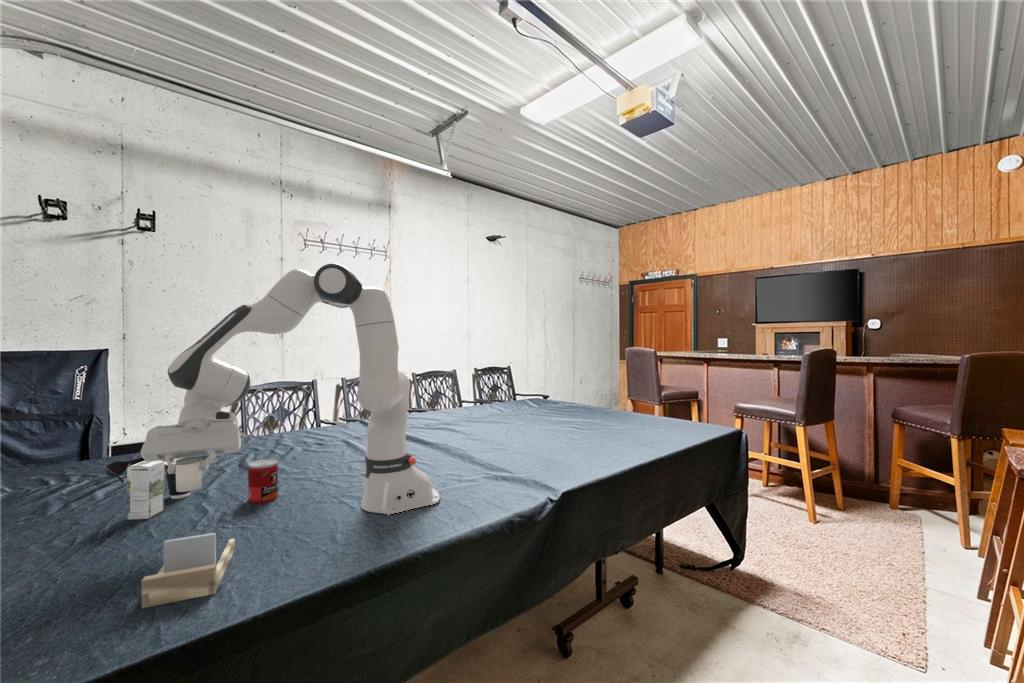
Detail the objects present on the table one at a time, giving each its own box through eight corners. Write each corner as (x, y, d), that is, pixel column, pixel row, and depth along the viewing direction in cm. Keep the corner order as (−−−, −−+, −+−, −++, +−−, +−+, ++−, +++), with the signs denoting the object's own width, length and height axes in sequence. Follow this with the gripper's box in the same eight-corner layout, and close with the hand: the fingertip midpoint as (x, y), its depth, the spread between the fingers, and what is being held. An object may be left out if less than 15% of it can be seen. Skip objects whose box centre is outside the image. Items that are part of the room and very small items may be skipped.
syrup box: (142, 511, 119) (142, 460, 119) (165, 510, 120) (164, 459, 120) (126, 520, 114) (125, 466, 114) (149, 519, 114) (149, 465, 114)
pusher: (165, 580, 84) (165, 540, 84) (216, 571, 87) (215, 532, 87) (163, 583, 83) (163, 542, 83) (215, 573, 86) (214, 534, 86)
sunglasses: (152, 468, 161) (152, 454, 161) (165, 475, 151) (165, 461, 151) (103, 477, 150) (103, 463, 150) (114, 486, 140) (114, 471, 140)
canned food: (265, 504, 124) (264, 467, 124) (241, 502, 126) (241, 465, 126) (284, 495, 132) (283, 459, 132) (261, 493, 133) (261, 458, 133)
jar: (204, 483, 106) (203, 455, 106) (198, 489, 102) (197, 461, 102) (179, 486, 105) (179, 458, 104) (172, 493, 100) (172, 463, 100)
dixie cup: (176, 502, 126) (175, 465, 126) (157, 499, 129) (157, 463, 129) (202, 492, 134) (202, 458, 134) (184, 490, 136) (184, 456, 136)
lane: (176, 559, 93) (176, 536, 93) (234, 549, 98) (234, 527, 98) (141, 608, 76) (141, 580, 76) (214, 593, 81) (214, 567, 81)
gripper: (145, 419, 105) (129, 470, 96) (241, 413, 113) (234, 458, 104) (152, 434, 109) (137, 483, 101) (245, 426, 118) (238, 471, 109)
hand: (187, 470), depth 103 cm, fingers closed on jar, 5 cm apart
